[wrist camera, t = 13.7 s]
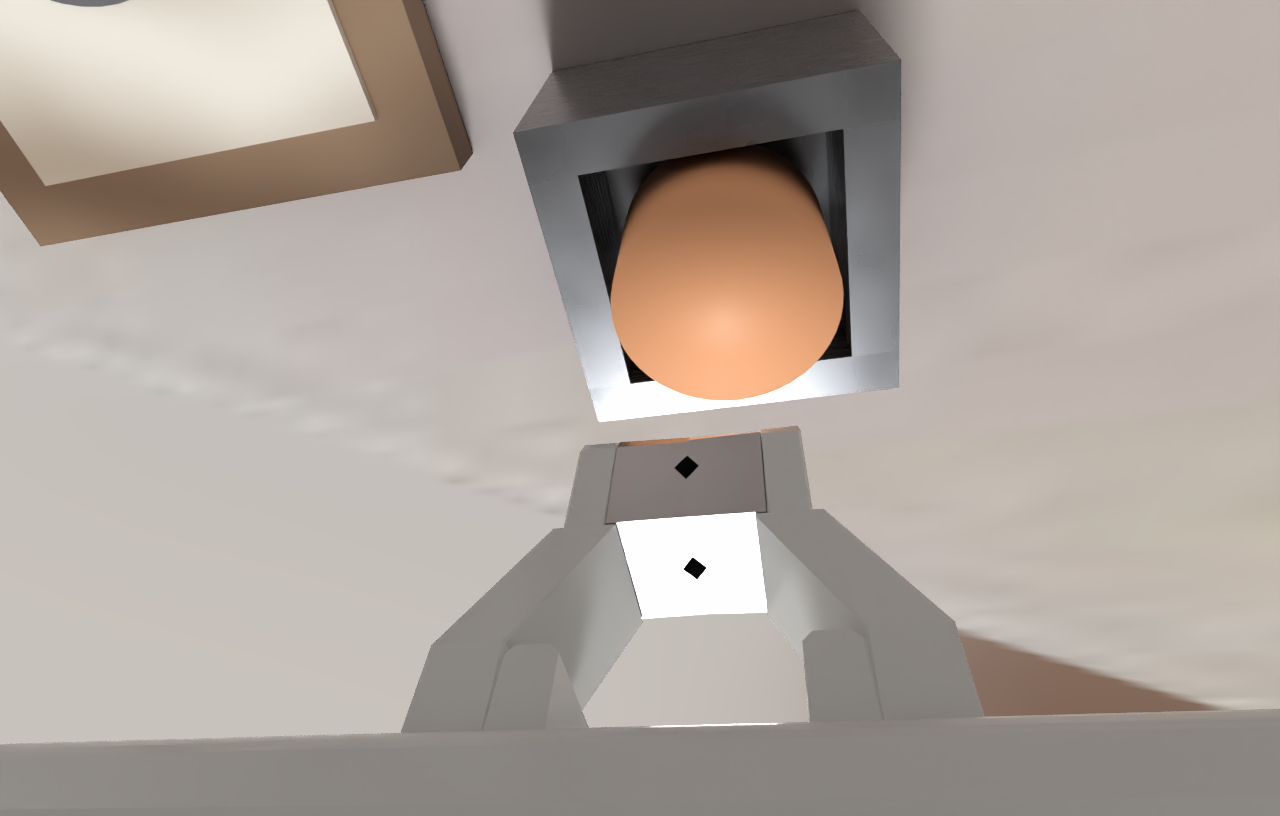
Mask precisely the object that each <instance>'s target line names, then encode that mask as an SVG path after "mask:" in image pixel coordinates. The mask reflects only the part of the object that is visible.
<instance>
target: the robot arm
mask: <svg viewBox="0 0 1280 816" xmlns="http://www.w3.org/2000/svg"><path fill="white" fill-rule="evenodd" d="M761 438H762V441H761ZM762 449H763V450H762ZM746 612H747V613H750V612H767V615H768V616H769V618H770V619H771V620H772V622H773V623H774V624H775V625H776V627H777V628H778V629H779V631H780V632H781V633H782V635H783V636H784V637H785V638H786V640H787V641H788V643H789V644H790V645H791V646H792V648H793V649H794V650H795V652H796V653H797V654H798V656H799V657H800V658H801V659H802V661H803V662H804V669H805V681H806V694H807V706H808V719H809V722H786V723H750V724H713V725H678V726H676V725H675V726H640V727H639V726H638V727H604V728H603V727H601V728H589V727H588V725H587V722H586V720H585V717H584V715H583V712H582V710H583V708H584V707H585V706H586V704H587V702H588V701H589V700H590V698H591V697H592V695H593V694H594V692H595V691H596V690H597V688H598V687H599V685H600V684H601V682H602V681H603V679H604V678H605V676H606V675H607V673H608V672H609V670H610V669H611V668H612V666H613V665H614V663H615V662H616V660H617V659H618V658H619V656H620V655H621V653H622V652H623V650H624V649H625V647H626V646H627V644H628V643H629V642H630V640H631V639H632V637H633V635H634V634H635V633H636V631H637V630H638V628H639V627H640V626H641V624H642V622H643V621H642V619H643V618H655V617H668V616H681V615H693V614H711V613H746ZM0 816H1280V709H1258V710H1221V711H1185V712H1147V713H1110V714H1075V715H1074V714H1073V715H1035V716H999V717H984V713H983V710H982V707H981V704H980V701H979V697H978V694H977V691H976V688H975V685H974V681H973V678H972V675H971V672H970V669H969V665H968V662H967V659H966V656H965V653H964V650H963V646H962V644H961V640H960V637H959V633H958V630H957V627H956V624H955V621H954V620H952V619H951V618H950V617H949V616H948V615H947V614H945V613H944V612H943V611H942V610H941V609H940V608H938V607H937V606H936V605H935V604H934V603H933V602H931V601H930V600H929V599H928V598H927V597H926V596H924V595H923V594H922V593H921V592H920V591H919V590H917V589H916V588H915V587H914V586H913V585H912V584H910V583H909V582H908V581H907V580H906V579H905V578H904V577H902V576H901V575H900V574H899V573H898V572H897V571H895V570H894V569H893V568H892V567H891V566H890V565H888V564H887V563H886V562H885V561H884V560H883V559H881V558H880V557H879V556H878V555H877V554H876V553H874V552H873V551H872V550H871V549H870V548H869V547H867V546H866V545H865V544H864V543H863V542H862V541H860V540H859V539H858V538H857V537H856V536H855V535H853V534H852V533H851V532H850V531H849V530H848V529H847V528H845V527H844V526H843V525H842V524H841V523H840V522H838V521H837V520H836V519H835V518H834V517H833V516H831V515H830V514H829V513H828V512H827V511H826V510H824V509H815V510H812V503H811V496H810V490H809V483H808V477H807V470H806V464H805V457H804V451H803V444H802V438H801V431H800V429H799V428H798V426H790V427H782V428H773V429H764V430H761V433H760V431H755V432H745V433H735V434H724V435H714V436H704V437H693V438H676V439H661V440H647V441H632V442H620V443H610V444H597V445H585V446H584V448H583V449H582V450H581V452H580V455H579V459H578V464H577V469H576V473H575V478H574V483H573V487H572V492H571V496H570V501H569V506H568V510H567V515H566V520H565V524H564V528H558V529H553V530H552V531H551V532H550V533H549V534H548V535H547V536H546V537H544V539H542V540H541V541H540V542H539V543H538V544H537V545H536V546H535V547H534V548H533V549H532V550H531V551H530V552H529V553H528V554H527V555H526V556H525V557H524V558H523V559H521V560H520V561H519V562H518V563H517V564H516V565H515V566H514V567H513V568H512V569H511V570H510V571H509V572H508V573H507V574H506V575H505V576H504V577H502V578H501V579H500V580H499V582H497V583H496V584H495V585H494V586H493V587H492V588H491V589H490V590H489V591H488V592H487V593H486V594H485V595H484V596H483V597H482V598H480V599H479V601H477V602H476V603H475V604H474V605H473V606H472V607H471V608H470V609H469V610H468V611H467V612H466V613H465V614H464V615H463V616H462V617H461V618H460V619H458V620H457V621H456V622H455V623H454V624H453V625H452V626H451V627H450V628H449V629H448V630H447V631H446V632H445V633H444V634H443V635H442V636H441V637H440V638H439V639H438V640H436V642H434V643H433V644H432V645H431V648H430V651H429V653H428V656H427V659H426V662H425V665H424V668H423V671H422V673H421V676H420V679H419V682H418V685H417V688H416V690H415V693H414V696H413V699H412V702H411V705H410V708H409V710H408V713H407V716H406V719H405V722H404V725H403V728H402V730H401V733H381V734H348V735H346V734H344V735H312V736H311V735H309V736H274V737H273V736H272V737H237V738H236V737H235V738H199V739H165V740H164V739H163V740H129V741H91V742H57V743H56V742H54V743H18V744H0Z"/></svg>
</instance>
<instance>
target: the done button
mask: <svg viewBox="0 0 1280 816" xmlns="http://www.w3.org/2000/svg"><path fill="white" fill-rule="evenodd" d="M843 294H844V292H843V283H842V277H841V274H840V270H839V267H838V263H837V260H836V257H835V253H834V250H833V247H832V243H831V240H830V237H829V234H828V230H827V227H826V224H825V220H824V217H823V214H822V210H821V207H820V204H819V201H818V198H817V196H816V194H815V192H814V190H813V188H812V186H811V185H810V183H809V182H808V180H807V179H806V178H805V176H804V175H803V174H802V173H801V172H800V171H799V170H798V168H796V167H795V166H794V165H793V164H792V163H791V162H789V161H788V160H787V159H785V158H784V157H782V156H780V155H779V154H777V153H775V152H773V151H771V150H769V149H767V148H764V147H761V146H758V145H755V144H754V145H748V146H743V147H737V148H731V149H725V150H720V151H714V152H708V153H703V154H697V155H691V156H685V157H680V158H674V159H668V160H665V161H664V162H663V163H661V164H660V165H659V166H658V167H656V168H655V169H654V170H653V171H652V172H651V173H650V174H649V175H648V176H647V178H646V179H645V180H644V181H643V183H642V184H641V185H640V187H639V189H638V190H637V192H636V194H635V195H634V197H633V200H632V202H631V204H630V207H629V209H628V213H627V217H626V221H625V226H624V230H623V235H622V240H621V245H620V250H619V255H618V259H617V264H616V269H615V274H614V279H613V284H612V291H611V314H612V320H613V325H614V328H615V331H616V334H617V336H618V338H619V340H620V342H621V344H622V346H623V348H624V350H625V351H626V353H627V354H628V356H629V357H630V358H631V360H632V361H633V362H634V363H635V364H636V365H637V366H638V367H639V368H640V369H641V370H642V371H643V372H644V373H645V374H647V375H648V376H649V377H650V378H652V379H653V380H655V381H656V382H658V383H659V384H661V385H663V386H665V387H667V388H669V389H671V390H673V391H676V392H678V393H681V394H684V395H687V396H691V397H695V398H700V399H707V400H719V401H729V400H741V399H747V398H753V397H757V396H760V395H764V394H767V393H770V392H772V391H775V390H777V389H779V388H781V387H783V386H785V385H787V384H789V383H791V382H792V381H794V380H795V379H797V378H798V377H800V376H801V375H803V374H804V373H805V372H806V371H807V370H808V369H810V368H811V367H812V366H813V365H814V364H815V363H816V362H817V361H818V359H819V358H820V357H821V356H822V355H823V354H824V352H825V351H826V349H827V348H828V346H829V345H830V343H831V341H832V339H833V337H834V335H835V333H836V331H837V328H838V325H839V322H840V319H841V314H842V309H843Z"/></svg>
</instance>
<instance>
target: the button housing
mask: <svg viewBox="0 0 1280 816" xmlns="http://www.w3.org/2000/svg"><path fill="white" fill-rule="evenodd" d="M513 134H514V137H515V141H516V144H517V148H518V151H519V154H520V158H521V161H522V164H523V168H524V171H525V175H526V178H527V181H528V185H529V188H530V192H531V195H532V198H533V202H534V205H535V208H536V212H537V215H538V219H539V222H540V225H541V229H542V232H543V236H544V239H545V242H546V246H547V249H548V252H549V256H550V259H551V263H552V266H553V269H554V273H555V276H556V280H557V283H558V286H559V290H560V293H561V296H562V300H563V303H564V307H565V310H566V313H567V317H568V320H569V324H570V327H571V330H572V334H573V337H574V340H575V344H576V347H577V351H578V354H579V357H580V361H581V364H582V368H583V371H584V374H585V378H586V381H587V384H588V388H589V391H590V395H591V398H592V401H593V405H594V408H595V412H596V415H597V418H598V422H604V421H613V420H621V419H630V418H639V417H647V416H656V415H665V414H674V413H682V412H691V411H700V410H708V409H717V408H726V407H734V406H743V405H752V404H761V403H769V402H778V401H787V400H795V399H804V398H813V397H822V396H830V395H839V394H848V393H856V392H865V391H874V390H882V389H891V388H899V289H900V143H901V59H900V58H899V57H898V56H897V54H896V53H895V52H894V51H893V50H892V48H891V47H890V46H889V45H888V44H887V43H886V41H885V40H884V39H883V38H882V37H881V36H880V34H879V33H878V32H877V31H876V30H875V29H874V27H873V26H872V25H871V24H870V23H869V21H868V20H867V19H866V18H865V17H864V16H863V14H862V13H861V12H860V11H859V10H857V11H852V12H847V13H842V14H837V15H832V16H827V17H822V18H817V19H812V20H807V21H802V22H797V23H792V24H787V25H782V26H777V27H772V28H767V29H762V30H757V31H752V32H747V33H743V34H738V35H733V36H728V37H723V38H718V39H713V40H708V41H703V42H698V43H693V44H688V45H683V46H678V47H673V48H668V49H663V50H658V51H653V52H648V53H643V54H638V55H633V56H628V57H623V58H618V59H613V60H608V61H603V62H598V63H593V64H588V65H583V66H578V67H574V68H569V69H564V70H559V71H554V72H552V73H551V74H550V76H549V77H548V79H547V81H546V82H545V84H544V85H543V87H542V88H541V90H540V92H539V93H538V95H537V96H536V98H535V99H534V101H533V102H532V104H531V106H530V107H529V109H528V110H527V112H526V113H525V115H524V117H523V118H522V120H521V121H520V123H519V124H518V126H517V127H516V129H515V131H514V132H513ZM754 144H755V145H758V146H761V147H764V148H767V149H769V150H771V151H773V152H775V153H777V154H779V155H780V156H782V157H784V158H785V159H787V160H788V161H789V162H791V163H792V164H793V165H794V166H795V167H796V168H798V170H799V171H800V172H801V173H802V174H803V175H804V176H805V178H806V179H807V180H808V182H809V183H810V185H811V186H812V188H813V190H814V192H815V194H816V196H817V198H818V201H819V204H820V207H821V210H822V214H823V217H824V220H825V224H826V227H827V230H828V234H829V237H830V240H831V243H832V247H833V250H834V253H835V257H836V260H837V263H838V267H839V270H840V274H841V277H842V283H843V292H844V294H843V309H842V314H841V319H840V322H839V325H838V328H837V331H836V333H835V335H834V337H833V339H832V341H831V343H830V345H829V346H828V348H827V349H826V351H825V352H824V354H823V355H822V356H821V357H820V358H819V359H818V361H817V362H816V363H815V364H814V365H813V366H812V367H811V368H810V369H808V370H807V371H806V372H805V373H804V374H803V375H801V376H800V377H798V378H797V379H795V380H794V381H792V382H791V383H789V384H787V385H785V386H783V387H781V388H779V389H777V390H775V391H772V392H770V393H767V394H764V395H760V396H757V397H753V398H747V399H741V400H729V401H719V400H707V399H700V398H695V397H691V396H687V395H684V394H681V393H678V392H676V391H673V390H671V389H669V388H667V387H665V386H663V385H661V384H659V383H658V382H656V381H655V380H653V379H652V378H650V377H649V376H648V375H647V374H645V373H644V372H643V371H642V370H641V369H640V368H639V367H638V366H637V365H636V364H635V363H634V362H633V361H632V360H631V358H630V357H629V356H628V354H627V353H626V351H625V350H624V348H623V346H622V344H621V342H620V340H619V338H618V336H617V334H616V331H615V328H614V325H613V320H612V314H611V291H612V284H613V279H614V274H615V269H616V264H617V259H618V255H619V250H620V245H621V240H622V235H623V230H624V226H625V221H626V217H627V213H628V209H629V207H630V204H631V202H632V200H633V197H634V195H635V194H636V192H637V190H638V189H639V187H640V185H641V184H642V183H643V181H644V180H645V179H646V178H647V176H648V175H649V174H650V173H651V172H652V171H653V170H654V169H655V168H656V167H658V166H659V165H660V164H661V163H663V162H664V161H665V160H668V159H674V158H680V157H685V156H691V155H697V154H703V153H708V152H714V151H720V150H725V149H731V148H737V147H743V146H748V145H754Z"/></svg>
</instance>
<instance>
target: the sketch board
mask: <svg viewBox="0 0 1280 816" xmlns="http://www.w3.org/2000/svg"><path fill="white" fill-rule="evenodd" d="M472 154H473V152H472V149H471V146H470V143H469V140H468V137H467V134H466V131H465V128H464V125H463V122H462V119H461V116H460V113H459V109H458V106H457V103H456V100H455V97H454V94H453V91H452V88H451V85H450V82H449V79H448V76H447V73H446V70H445V67H444V64H443V61H442V58H441V55H440V52H439V49H438V46H437V43H436V40H435V37H434V34H433V31H432V28H431V25H430V22H429V19H428V16H427V13H426V10H425V7H424V4H423V1H422V0H0V191H1V192H2V194H3V195H4V197H5V198H6V199H7V201H8V202H9V203H10V205H11V206H12V208H13V209H14V210H15V212H16V213H17V214H18V216H19V217H20V219H21V220H22V221H23V223H24V224H25V225H26V227H27V228H28V230H29V231H30V232H31V234H32V235H33V236H34V238H35V239H36V240H37V242H38V243H39V245H40V246H45V245H51V244H56V243H62V242H68V241H73V240H79V239H84V238H90V237H95V236H101V235H106V234H112V233H117V232H123V231H128V230H134V229H139V228H145V227H150V226H156V225H161V224H167V223H172V222H178V221H183V220H189V219H194V218H200V217H205V216H211V215H216V214H222V213H227V212H233V211H238V210H244V209H250V208H255V207H261V206H266V205H272V204H277V203H283V202H288V201H294V200H299V199H305V198H310V197H316V196H321V195H327V194H332V193H338V192H343V191H349V190H354V189H360V188H365V187H371V186H376V185H382V184H387V183H393V182H398V181H404V180H409V179H415V178H420V177H426V176H432V175H437V174H443V173H448V172H454V171H459V170H461V169H462V168H463V166H464V165H465V164H466V162H467V161H468V159H469V158H470V157H471V155H472Z"/></svg>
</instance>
